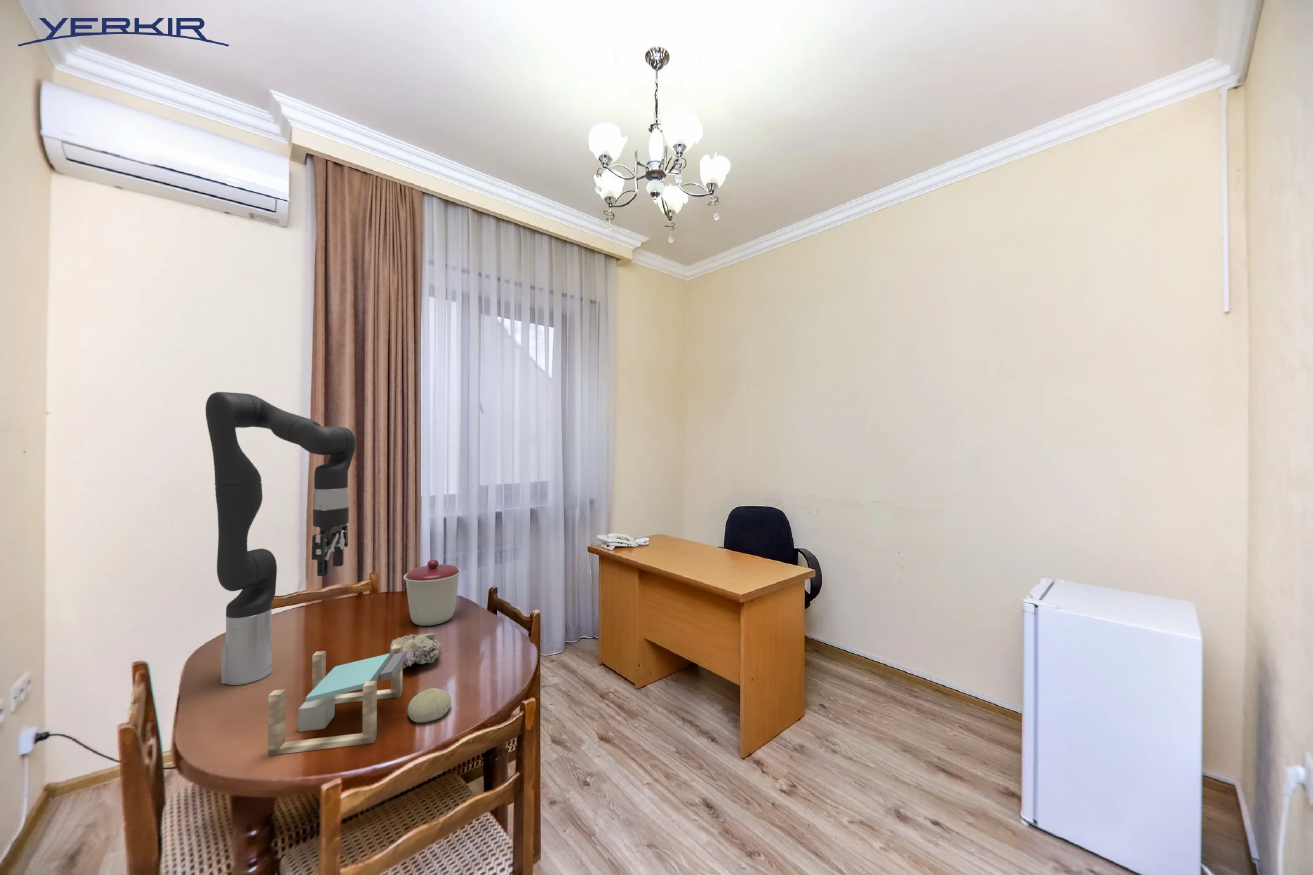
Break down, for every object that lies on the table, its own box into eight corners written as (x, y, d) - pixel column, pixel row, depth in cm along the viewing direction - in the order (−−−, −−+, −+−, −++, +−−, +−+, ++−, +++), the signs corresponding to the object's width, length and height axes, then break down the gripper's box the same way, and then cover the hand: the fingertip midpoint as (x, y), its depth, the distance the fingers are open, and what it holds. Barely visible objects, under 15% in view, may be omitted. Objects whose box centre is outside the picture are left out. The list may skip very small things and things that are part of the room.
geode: (421, 665, 144) (373, 678, 131) (419, 632, 147) (371, 642, 134) (460, 655, 138) (414, 667, 125) (457, 621, 141) (411, 630, 128)
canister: (468, 621, 165) (468, 560, 165) (411, 635, 153) (411, 570, 153) (450, 607, 179) (451, 551, 179) (397, 619, 167) (397, 559, 167)
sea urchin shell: (405, 723, 103) (407, 684, 108) (407, 734, 108) (409, 697, 114) (451, 713, 107) (451, 676, 112) (451, 724, 112) (450, 689, 117)
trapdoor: (409, 654, 117) (407, 647, 117) (390, 682, 103) (388, 675, 103) (336, 671, 113) (334, 665, 113) (306, 703, 100) (305, 696, 99)
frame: (268, 755, 95) (268, 695, 95) (316, 701, 115) (316, 651, 115) (373, 742, 100) (373, 685, 100) (402, 692, 119) (402, 644, 119)
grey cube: (324, 728, 104) (298, 731, 103) (334, 715, 109) (309, 718, 108) (324, 706, 104) (298, 708, 103) (334, 694, 109) (309, 696, 108)
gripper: (327, 502, 126) (327, 564, 126) (299, 510, 112) (299, 579, 112) (358, 502, 128) (358, 562, 128) (335, 510, 114) (334, 578, 114)
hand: (330, 570), depth 120 cm, fingers open, 8 cm apart
